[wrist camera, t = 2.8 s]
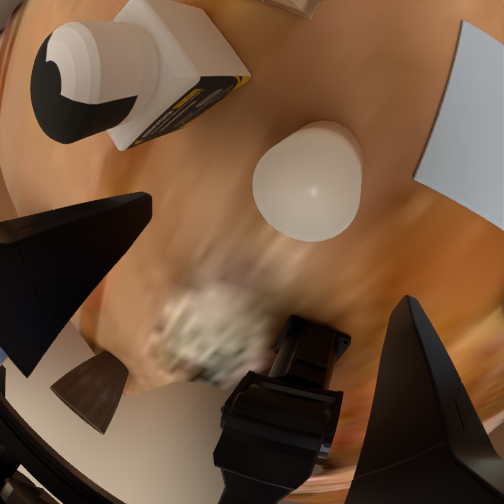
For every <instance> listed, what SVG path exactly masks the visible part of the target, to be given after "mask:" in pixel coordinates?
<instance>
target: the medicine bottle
mask: <svg viewBox="0 0 504 504" xmlns="http://www.w3.org/2000/svg"><path fill="white" fill-rule="evenodd" d="M250 79H251V74H250V73H249V71H248V70H247V68H246V67H245V65H244V64H243V62H242V61H241V60H240V58H239V57H238V55H237V54H236V53H235V51H234V50H233V48H232V47H231V46H230V44H229V43H228V42H227V40H226V39H225V38H224V36H223V35H222V34H221V32H220V31H219V30H218V28H217V27H216V26H215V24H214V23H213V22H212V21H211V19H210V18H209V17H208V16H207V14H206V13H205V12H204V11H203V10H202V9H200V8H197V7H193V6H190V5H186V4H183V3H179V2H175V1H171V0H130V1H129V2H128V3H127V4H126V5H125V6H124V7H123V9H122V10H121V11H120V12H119V13H118V14H117V16H116V17H115V18H114V19H113V20H112V22H111V21H82V22H68V23H65V24H63V25H61V26H59V27H58V28H57V29H55V30H54V31H53V32H52V33H51V34H50V35H49V36H48V37H47V38H46V39H45V41H44V42H43V44H42V45H41V47H40V49H39V51H38V53H37V56H36V58H35V61H34V65H33V70H32V75H31V85H30V92H31V101H32V106H33V110H34V113H35V116H36V119H37V121H38V123H39V125H40V127H41V128H42V130H43V131H44V133H45V134H46V135H47V136H49V137H50V138H51V139H53V140H55V141H57V142H59V143H62V144H70V143H73V142H76V141H78V140H81V139H83V138H86V137H89V136H91V135H94V134H97V133H100V132H102V131H105V130H107V132H108V133H109V135H110V137H111V138H112V140H113V142H114V143H115V145H116V147H117V148H118V149H119V150H120V151H124V150H127V149H129V148H131V147H134V146H136V145H139V144H141V143H144V142H146V141H149V140H152V139H154V138H157V137H160V136H162V135H165V134H168V133H171V132H174V131H177V130H179V129H182V128H184V127H186V126H187V125H188V124H189V123H191V122H192V121H193V120H194V119H196V118H197V117H198V116H200V115H201V114H202V113H204V112H205V111H206V110H208V109H209V108H210V107H212V106H213V105H214V104H216V103H217V102H218V101H220V100H221V99H223V98H224V97H225V96H227V95H228V94H230V93H231V92H233V91H234V90H236V89H237V88H238V87H240V86H241V85H243V84H244V83H246V82H248V81H249V80H250Z"/></svg>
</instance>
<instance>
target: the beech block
mask: <svg viewBox="0 0 504 504" xmlns="http://www.w3.org/2000/svg"><path fill="white" fill-rule="evenodd" d="M260 1H263V2H266V3H269V4H272V5H274V6H277V7H280V8H282V9H285V10H287V11H290V12H292V13H295V14H297V15H300V16H302V17H304V18H306V19H309V20H311V19H312V17H313V15H314V14H315V12H316V10H317V9H318V7H319V6H320V4H321V2H322V1H323V0H260Z"/></svg>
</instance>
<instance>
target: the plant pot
mask: <svg viewBox="0 0 504 504" xmlns="http://www.w3.org/2000/svg"><path fill="white" fill-rule="evenodd" d="M127 376H128V370H127V369H126V367H125V366H124V365H123V364H122V363H121V362H120V361H119V360H118V359H117V358H116V357H114V356H113V355H112V354H110V353H108V352H102V353H100V354H98V355H96V356H94V357H92V358H91V359H89V360H87V361H85V362H83V363H82V364H80V365H79V366H77V367H76V368H74V369H73V370H71V371H70V372H68V373H67V374H65V375H64V376H63V377H62V378H60V379H59V380H58V381H57V382H55V383H54V384H53V385H52V386H51V387H50V389H51V390H52V391H53V392H54V393H55V394H56V395H57V396H58V397H59V399H60V400H61V401H63V402H64V403H65V404H66V405H67V406H68V407H69V408H70V409H71V410H72V411H73V412H75V413H76V414H77V415H78V416H79V417H80V418H81V419H83V420H84V421H85V422H86V423H88V424H89V425H90V426H92V427H93V428H94V429H96V430H97V431H98V432H100V433H101V434H103V435H104V433H105V431H106V429H107V428H108V426H109V424H110V422H111V420H112V418H113V415H114V413H115V411H116V409H117V406H118V404H119V401H120V398H121V395H122V393H123V390H124V387H125V383H126V380H127Z"/></svg>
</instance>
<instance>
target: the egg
mask: <svg viewBox="0 0 504 504" xmlns="http://www.w3.org/2000/svg"><path fill="white" fill-rule="evenodd" d="M362 167H363V154H362V149H361V146H360V144H359V141H358V140H357V138H356V137H355V135H354V134H353V133H352V132H351V131H350V130H349V129H347V128H346V127H344V126H343V125H341V124H339V123H336V122H332V121H326V120H321V121H315V122H311V123H309V124H307V125H305V126H304V127H302V128H300V129H299V130H297V131H296V132H294V133H293V134H291V135H290V136H288V137H287V138H285V139H284V140H282V141H281V142H279V143H278V144H276V145H275V146H273V147H272V148H271V149H269V150H268V151H267V152H266V153H265V154H264V155H263V156H262V158H261V159H260V161H259V162H258V164H257V166H256V168H255V171H254V175H253V182H252V189H253V196H254V199H255V202H256V205H257V207H258V209H259V211H260V213H261V214H262V216H263V217H264V219H265V220H266V221H267V222H268V223H269V224H270V225H271V226H272V227H273V228H274V229H276V230H277V231H278V232H280V233H282V234H284V235H285V236H288V237H290V238H293V239H296V240H300V241H307V242H317V241H323V240H327V239H330V238H333V237H335V236H337V235H338V234H340V233H341V232H343V231H344V230H345V229H346V228H347V227H348V226H349V225H350V224H351V222H352V221H353V220H354V218H355V216H356V214H357V211H358V208H359V203H360V195H361V182H362Z"/></svg>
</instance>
